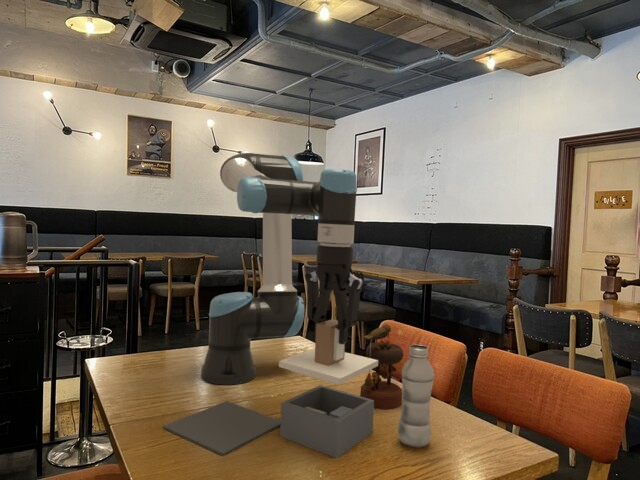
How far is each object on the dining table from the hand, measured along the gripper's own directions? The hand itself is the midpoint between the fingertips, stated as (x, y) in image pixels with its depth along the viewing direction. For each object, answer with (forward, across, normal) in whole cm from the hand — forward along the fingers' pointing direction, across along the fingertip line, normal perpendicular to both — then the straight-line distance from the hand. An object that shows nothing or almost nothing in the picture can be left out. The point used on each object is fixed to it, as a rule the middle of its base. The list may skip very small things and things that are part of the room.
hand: (329, 356), depth 96 cm
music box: (+17, 0, +25) cm, 30 cm away
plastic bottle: (+16, +16, +8) cm, 25 cm away
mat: (+17, -18, -11) cm, 27 cm away
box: (+16, 0, 0) cm, 17 cm away
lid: (+2, 0, 0) cm, 2 cm away
